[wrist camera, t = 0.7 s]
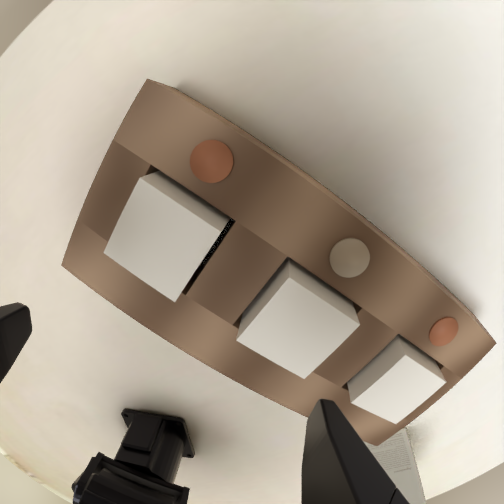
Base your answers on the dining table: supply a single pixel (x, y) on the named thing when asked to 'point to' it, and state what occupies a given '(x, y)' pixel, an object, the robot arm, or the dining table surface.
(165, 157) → the key board
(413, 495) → the small box
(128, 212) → the key
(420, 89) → the dining table surface
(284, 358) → the key mid
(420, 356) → the key
